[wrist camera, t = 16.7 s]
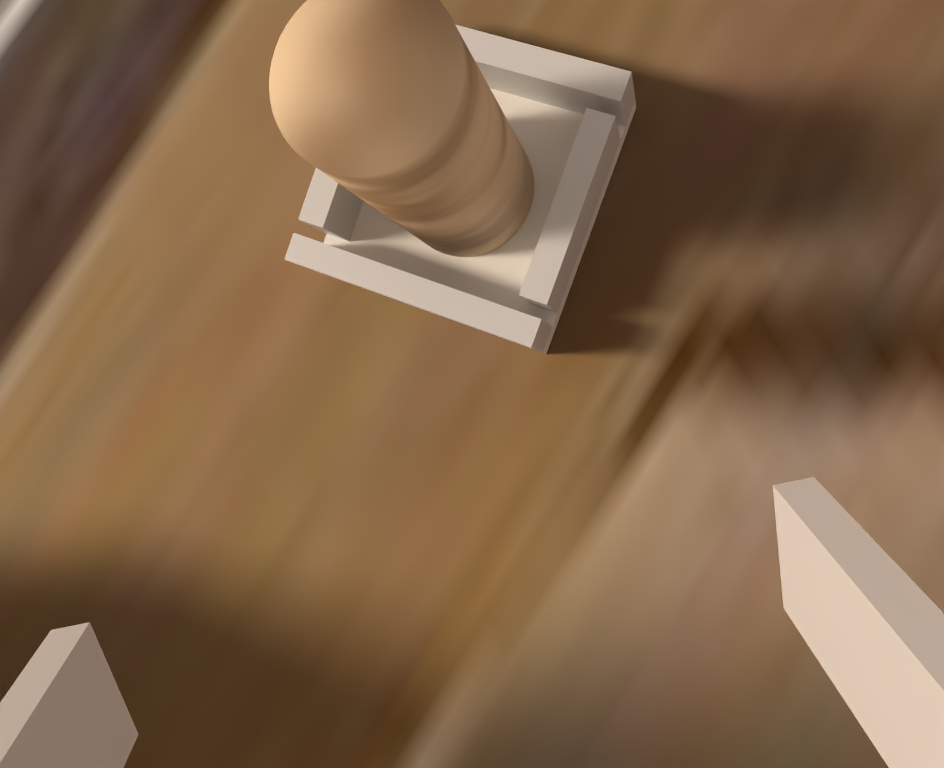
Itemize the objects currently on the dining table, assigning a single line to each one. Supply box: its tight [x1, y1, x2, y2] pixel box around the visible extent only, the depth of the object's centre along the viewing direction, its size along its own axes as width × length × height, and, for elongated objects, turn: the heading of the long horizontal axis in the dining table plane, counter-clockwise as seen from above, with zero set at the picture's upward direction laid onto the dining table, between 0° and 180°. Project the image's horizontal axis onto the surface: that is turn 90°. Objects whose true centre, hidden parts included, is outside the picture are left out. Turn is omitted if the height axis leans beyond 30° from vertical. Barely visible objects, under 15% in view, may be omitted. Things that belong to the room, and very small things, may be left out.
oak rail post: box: [269, 0, 534, 257], centre depth 31 cm, size 6×6×13 cm
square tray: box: [285, 25, 636, 354], centre depth 36 cm, size 11×11×4 cm
